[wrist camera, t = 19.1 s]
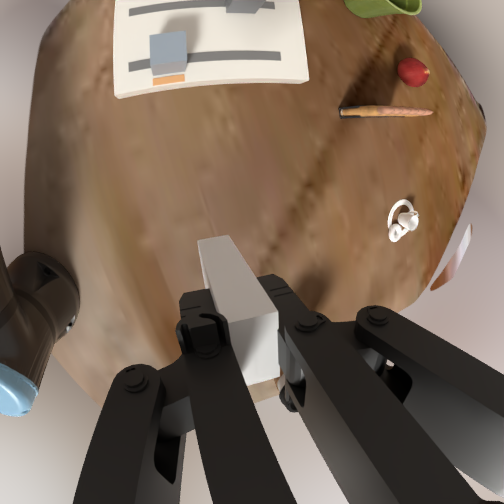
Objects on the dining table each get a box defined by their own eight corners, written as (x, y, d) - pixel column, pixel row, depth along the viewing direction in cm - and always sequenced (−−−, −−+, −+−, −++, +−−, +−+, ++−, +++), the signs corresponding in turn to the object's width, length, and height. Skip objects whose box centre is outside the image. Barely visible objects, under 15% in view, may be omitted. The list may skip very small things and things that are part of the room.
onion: (400, 57, 37) (429, 52, 30) (412, 82, 40) (442, 80, 32) (384, 65, 37) (414, 59, 30) (397, 91, 40) (428, 90, 32)
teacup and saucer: (387, 244, 52) (400, 252, 48) (380, 211, 48) (394, 216, 45) (414, 225, 52) (427, 231, 49) (408, 192, 49) (423, 197, 45)
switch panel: (118, 99, 29) (114, 95, 27) (118, 6, 23) (115, -3, 20) (299, 83, 35) (309, 80, 33) (289, -1, 29) (297, -8, 26)
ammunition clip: (339, 118, 39) (390, 116, 28) (338, 107, 38) (388, 102, 28) (386, 116, 41) (436, 118, 30) (385, 107, 40) (435, 106, 30)
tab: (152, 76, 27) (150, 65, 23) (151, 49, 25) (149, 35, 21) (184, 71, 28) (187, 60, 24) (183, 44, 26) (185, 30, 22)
